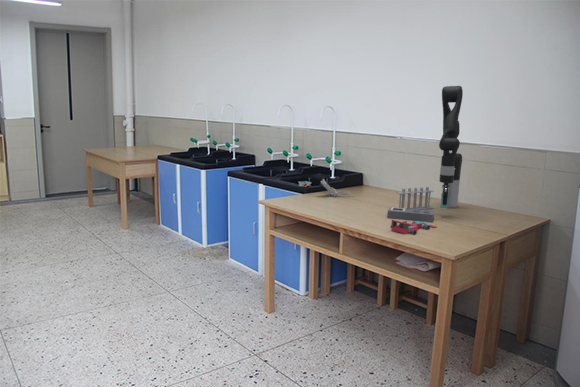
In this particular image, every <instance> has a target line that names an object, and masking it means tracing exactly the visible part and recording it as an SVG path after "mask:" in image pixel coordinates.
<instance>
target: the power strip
mask: <svg viewBox="0 0 580 387" xmlns="http://www.w3.org/2000/svg"><path fill="white" fill-rule="evenodd" d="M405 208H406V207H404V208H401V207H400V208H399V207H395V206H394V207H392V206H390V207H389V208H388V209H387V213H386V215H387V219H393V220H405V221H415V222H426V223H433V222H434V221H433V220H434V215H435V213H434V212H435V211H434V210H428V209H424V210H416V209H405Z"/></svg>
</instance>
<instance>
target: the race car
mask: <svg viewBox="0 0 580 387" xmlns="http://www.w3.org/2000/svg"><path fill="white" fill-rule="evenodd" d="M407 221H408V220H405V221H399V220H397V219H391V225H390V229H391V231H394V232H396V233H400V234H403V235H405V234H410V235H412V234H413V235H417V234H418V230H420V229H422V230H423V229H424V230H426V231H427V230H430V229H431V228H434V229H435V228H437V227H438V226H436V225H432V224H429V223H425V222H423V221H415V220H412V223H409V222H407ZM413 235H412V236H413Z"/></svg>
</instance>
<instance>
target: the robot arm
mask: <svg viewBox="0 0 580 387" xmlns="http://www.w3.org/2000/svg"><path fill="white" fill-rule="evenodd" d="M463 91H464V90H463V87H462V86H461V85H449V86H447V85H446V86H443V87H442V89H441V101H442V102H441V103H442V132H443V133H442V136H441V138H440V141H439V144H438V146H439V149H440V150H441V151H442V152H443V153H442V155H441V161H440V162H441V163H440V170H439V182H440V183H443V184H442V188H441V190H442V192H441V195H442V194H443V205H447V198H448V194H449V203H448V208H447V209H456V208H458V202H459V194H460V192H459V191H460V182H461V173H462V171H461V169H462V164H463V155H462V153H458V150H459V147H460V144H461V142H460V140H459V139H458V137H459V135H460V121H459V116H460V111H461V107H462V103H463V102H462V101H463ZM449 103H452V104H453V103H454V106H453V108H452V109H451V107H450V104H449ZM444 194H447V196H444Z"/></svg>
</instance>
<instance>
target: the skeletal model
mask: <svg viewBox="0 0 580 387" xmlns="http://www.w3.org/2000/svg"><path fill="white" fill-rule="evenodd" d="M320 184H321V185H322V186H323V187H324V188H325V189H326V190H327V193H328V194H330V195H331V196H335V197H338V196H339V197H340V196H341V197H345V196H348V195H352V196H354V197H356V195H355V194H354V193H351V192H350V191H348V190H345V191H344V190H342V189H335V188H334V187H331V186H330V185H329V184H328V183H327V181H326V180H325V178H322V180H320ZM338 193H340V194H338Z"/></svg>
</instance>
